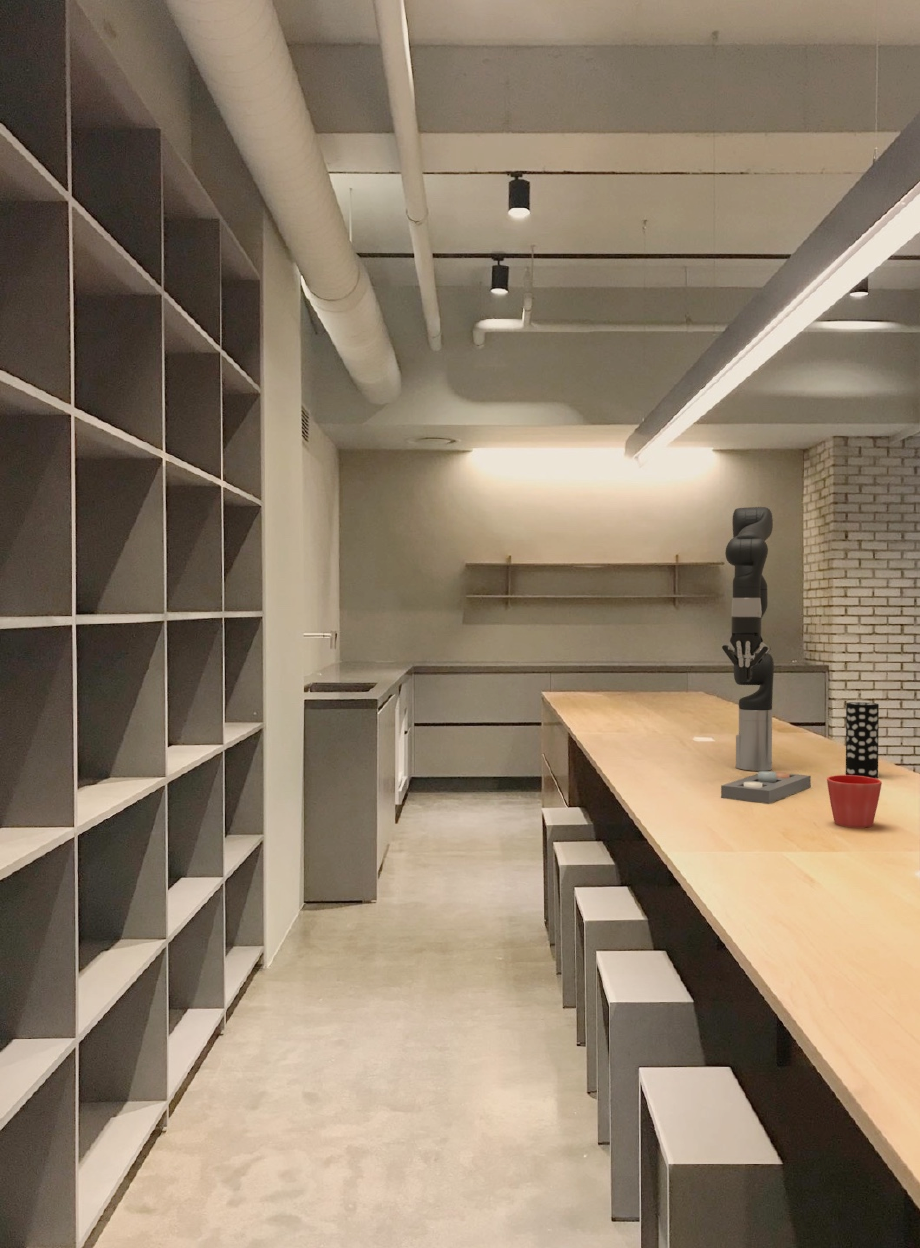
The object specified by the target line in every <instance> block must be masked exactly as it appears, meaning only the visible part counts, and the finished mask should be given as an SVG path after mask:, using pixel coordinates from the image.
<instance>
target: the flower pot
mask: <svg viewBox="0 0 920 1248" xmlns="http://www.w3.org/2000/svg"><path fill="white" fill-rule="evenodd" d="M826 783H827V789H828V796H829V797H828V798H829V802H830V808H831V813H832V817H833V823H835V825H837V826H840V827H845V828H853V829H854V828H856V829H863V828H870V827H873V826H874V821H875V817H876V814H877V813H876V812H877V808H878V805H879V800H880V794H881V790H882V784H883V783H882V781H881V780H880V779H878V778H870V777H864V776H855V775H846V774H841V775H840V774H837V775H830V776H828V777H827V778H826Z"/></svg>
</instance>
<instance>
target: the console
mask: <svg viewBox="0 0 920 1248" xmlns="http://www.w3.org/2000/svg"><path fill="white" fill-rule="evenodd" d="M787 773H788V772H787ZM788 774H790V778H779V777H776V783H768V782H760V783H762V788H754V787H745V786H744V782H759V781H758V773H755V774H752V775H749V776H746V777H744V778H740V779H737V780H733V781H731V782H728V783H725V784H722V785H721V786H720V790H721V791H720V797H721V799H729V800H737V801H746V802H752V803H761V804H772V803H774V802H776V801H780V800H782V799H784V798H788V797H789V796H792V795H794V794H797V793H799V792H800V793H801V792H802V791H805V790H807V789H809V788H811V777H812V776H811V775H807V774H797V773H788Z"/></svg>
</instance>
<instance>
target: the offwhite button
mask: <svg viewBox="0 0 920 1248" xmlns="http://www.w3.org/2000/svg"><path fill="white" fill-rule="evenodd" d="M744 786H745V787H754V788H762V783H760V782H744Z"/></svg>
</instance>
